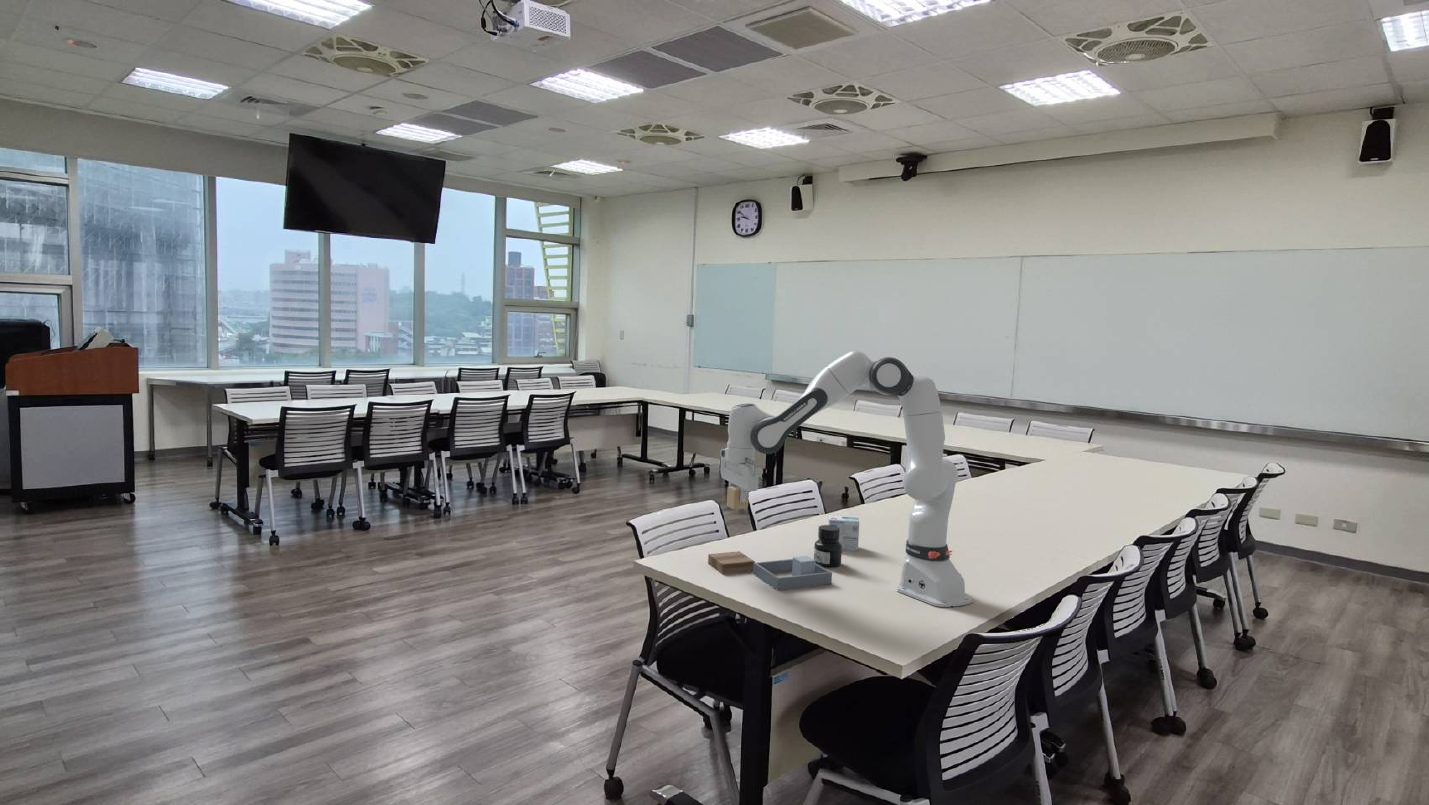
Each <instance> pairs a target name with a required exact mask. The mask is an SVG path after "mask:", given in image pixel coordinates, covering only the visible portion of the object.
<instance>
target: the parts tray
mask: <svg viewBox="0 0 1429 805" xmlns="http://www.w3.org/2000/svg"><path fill="white" fill-rule="evenodd" d="M792 564H793V558H789V559H787V558H786V559H779V560H769V561H759V562H755V563H753V571H752V575H754V576H755V575H756V576H755V577H757V578H758V577H759V578H758V579H760V580H761V581H763V580H764V581H765V582H764V581H763V582H764V583H766V584H767V583H768V584H769V585H768V584H767V585H768V586H769V587H771V586H773V587H774V588H776V589H777V590H776V589H775V590H776V591H782V590H781V589H785V590H790V589H791V588H793V589H802V588H810V587H817V586H826V585H832V582H833V581H832V580H833V572H831V571H830V570H828V569H826V567H823V566H820V565H818V564H816V563H815V574H807V575H798V576H792V575H791V576H782V577H781V576H779V577H778V576H777V575H776V574H774V573H781V572H782V573H783V572H792ZM773 587H772V588H773ZM799 587H800V588H799ZM801 587H802V588H801ZM774 588H773V589H774ZM789 588H790V589H789ZM779 589H780V590H779Z"/></svg>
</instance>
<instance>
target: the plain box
mask: <svg viewBox="0 0 1429 805" xmlns="http://www.w3.org/2000/svg"><path fill="white" fill-rule="evenodd" d="M792 559H793V564H792V571H791V576H798V575H807V574H815V560H814V558H812V557H810V556H808V555H804V556H793V557H792Z"/></svg>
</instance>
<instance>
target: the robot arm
mask: <svg viewBox="0 0 1429 805" xmlns="http://www.w3.org/2000/svg"><path fill="white" fill-rule="evenodd" d="M865 385H866V386H869V387H872V388H873V389H874V390H875V391H876V392H878V393H879V394H881V395H884V396H891V395H892V396H897V397H898V398H899V400H900V403H901V405H902V406H901V407H902V414H903V423H904V429H905V436H906V439H905V440H906V454H905V455H906V456H905V473H904V475H903V478H902V479H903V480H902V486H903V489H904V492H905V493H906V494H907V495H908V496H909V497H910V498H911V499H912V500H913V499H914V502H913V505H912V507H911V511H910V513H909V518H908V520H909V521H908V522H909V523H908V536H907V540H906V542H905V543H906V544H905V553H906V554H905V555H906V556H905V559H904V562H903V565H902V570H901V575H900V576H901V577H900V582H899V585H898V586H897V589H896V590H897V592H898V593H901V594H903V595H906V596H909V597H911V598H914V599H916V600H919V601H922V602H924V603H927V604H929V605H931V606H934V607H939V608H941V607H942V608H950V607H951V606H953V607H960V606H965V605H966V606H967V605H970V604H972V603H973V602H972V601H974V599H973V597H972V596H971V595H969V594H967V593H966V586H965V585H966V584H965V579H964V578H963V576H962V575H963V574H961V573H960V572H959V571H958V569H957V567H955V565H954V564H953V562H952V561H951V560H950V558H951V557H950V556H951V555H953V553H952V552H953V550H949V546H948V543H947V538H948V528H949V527H948V525H949V524H948V523H949V517H950V516H949V515H950V512H951V508H952V507H951V506H952V504H953V499H954V494H955V490H956V489H955V488H956V484H957V482H958V479H959V471H958V468H957V466H956V465H955V463H953V462H952V461H951V460H949V459H947V458H943V457H944V446H945V442H946V441H945V440H946V434H945V425H944V419H943V410H942V405H941V401H940V397H939V392H938V389H937V387H936V383H935V382H934V380H933V379H931V378H930V377H928V376H923V375H922V376H921V375H918V376H914V375H913V374H912V373H911V371H910V370H909V369H908V367H907V366H906V365H905V363H903V362H902V361H901V360H899V358H898V359H897V358H896V357H891V356H890V357H889V356H887V357H882V358H879V359H878V360H875V361H874V360H871V359H870V358H869V357H868V356H867V355H866V353H864V352H862V351H860V350H857V349H856V350H854V349H853V350H851V351H849V352H846V353H845V354H843V355H841V356H839V357H837V358H836V359H835V360H833V361H832V362H830V363H829V364H827V365H826V366H824V368H822V369H821V370H820V371H819V372H818V373H817V374H816V375H815V376H814V377H813V379H812V380H811V381H810V382H809V384H808V385H807V387H806V389H805V391H804V392H803V393H802V395H801V396H800V397H799V398H798V399H797V400H796V401H795V402H794V403H792V404H791V405H789V406H788V407H787V408H785V409H784V410H783V411H781V413H779V414H778V415H777V416H775V415H773V414H770V413H767V412H766V411H764V410H762V409H760V408H759V407H758V406H757V405H756V404H754V403H741V404H737V405H735V406H734V407H732V408H731V410H730V413H729V417H728V425H727V434H728V441H727V442H726V448H722V449H720V453H719V454H720V457H721V458H720V476H721V478H722V479H723V480H725V481H728V487H730V486H738V487H740V488H741V495H739V501H741V502H745V501H746V496H747V494H748V492H749V493H750V492H756V491H757V490H758V489H759V470H758V466H757V465H756V463H755V459H756V457H755V456H756V455H755V454H756V451H757V452H759V453H760V454H763V455H764V454H765V455H772V454H775V453H777V452H778V451H779V450H780V449H781V448H782V447H783V445H784V443H785V441H786V440H787V438H788V437H789V435H790V434H792V432H793V431H795V430H797V428H799V427H800V426H801V425H802V424H804V423H805V422H806V421H808V420H809V419H810V418H811V417H813V416H814V415H816V414H818V413H820V412H821V411H823V410H825V409H826V410H827V409H828V408H829V407H833V406H835V405H836V404H837V403H839V402H841V401H842V400H844V399H846V398H847V397H848V396H850V395H851V394H853V392H855V391H856V390H858V389H859V388H861V387H863V386H865ZM951 608H952V607H951Z"/></svg>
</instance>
